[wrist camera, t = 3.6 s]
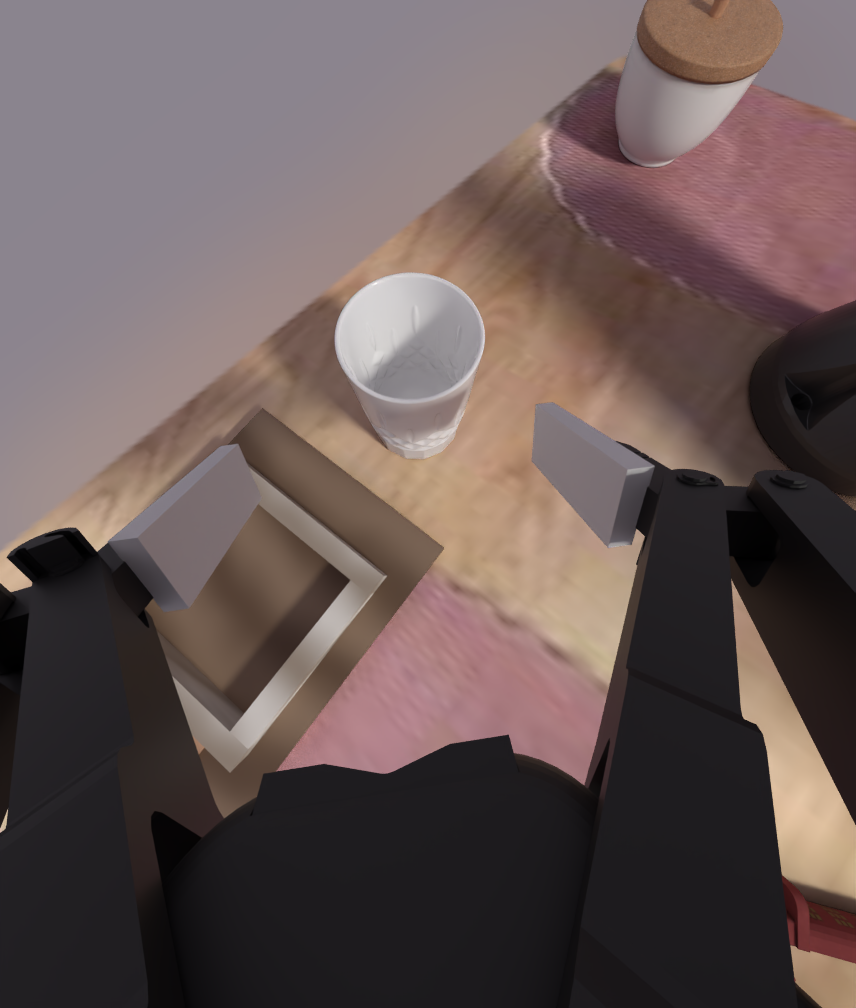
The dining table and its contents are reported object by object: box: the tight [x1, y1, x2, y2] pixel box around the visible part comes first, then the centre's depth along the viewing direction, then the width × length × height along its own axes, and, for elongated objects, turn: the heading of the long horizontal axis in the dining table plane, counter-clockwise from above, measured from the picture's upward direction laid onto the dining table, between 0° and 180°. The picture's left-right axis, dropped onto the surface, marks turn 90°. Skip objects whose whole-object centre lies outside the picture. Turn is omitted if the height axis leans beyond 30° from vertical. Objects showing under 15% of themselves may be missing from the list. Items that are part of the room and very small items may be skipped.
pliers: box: [782, 876, 856, 981], centre depth 19 cm, size 12×20×3 cm, turn 48°
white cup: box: [335, 273, 485, 459], centre depth 22 cm, size 8×8×10 cm
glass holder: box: [145, 408, 444, 818], centre depth 22 cm, size 22×18×3 cm
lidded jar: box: [615, 0, 783, 168], centre depth 28 cm, size 11×11×9 cm
